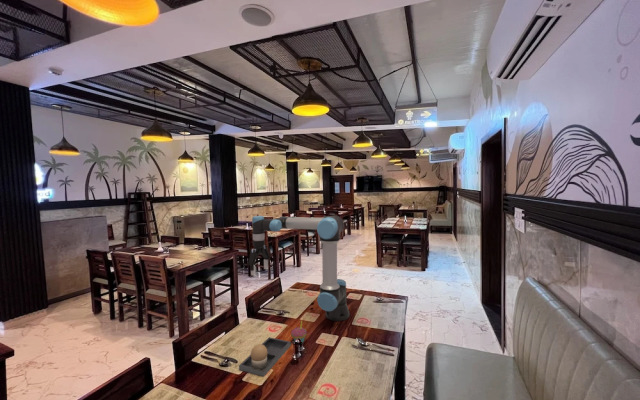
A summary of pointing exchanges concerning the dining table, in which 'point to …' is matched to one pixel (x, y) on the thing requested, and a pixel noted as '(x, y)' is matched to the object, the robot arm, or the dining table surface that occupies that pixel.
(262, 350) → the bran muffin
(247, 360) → the dark grey tray
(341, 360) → the dining table surface
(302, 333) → the cupcake
